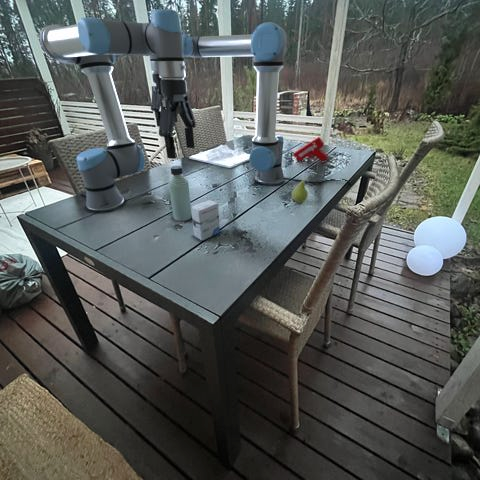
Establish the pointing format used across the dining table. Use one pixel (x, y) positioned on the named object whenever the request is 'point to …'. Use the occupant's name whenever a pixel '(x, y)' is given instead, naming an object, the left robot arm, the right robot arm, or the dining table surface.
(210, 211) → the ink box
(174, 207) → the bottle
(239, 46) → the right robot arm
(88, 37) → the left robot arm
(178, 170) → the cap
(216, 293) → the dining table surface
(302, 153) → the toy gun
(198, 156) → the relief map
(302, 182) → the fruit
